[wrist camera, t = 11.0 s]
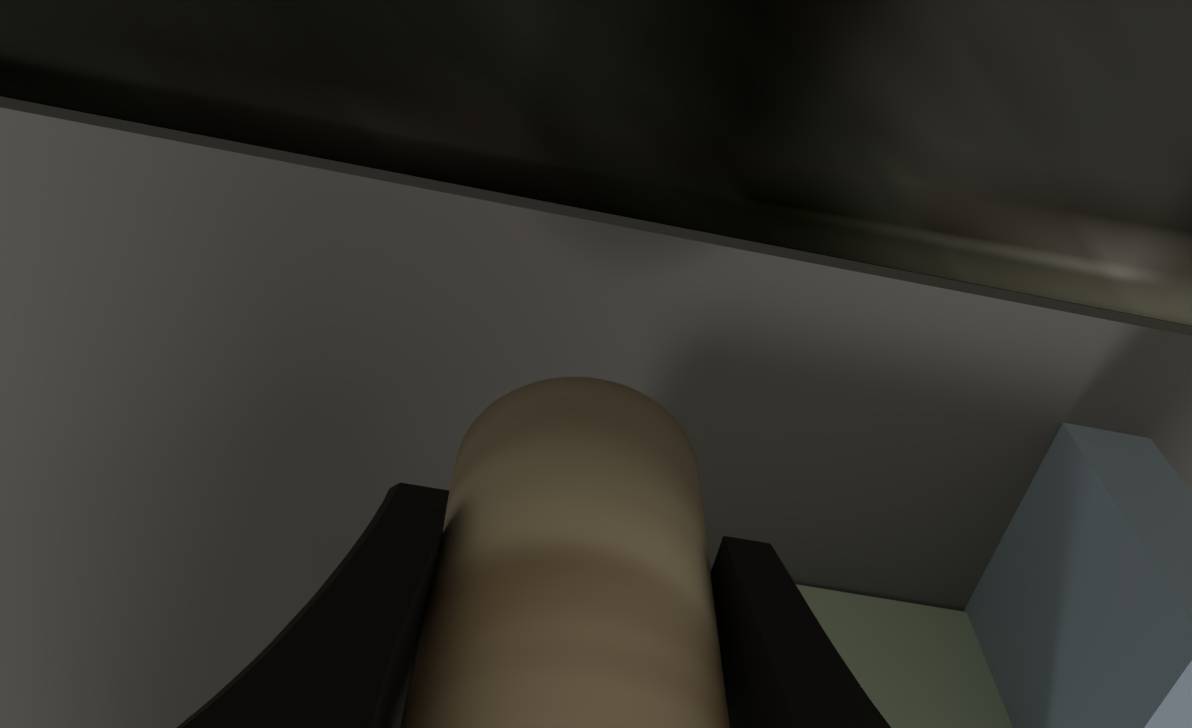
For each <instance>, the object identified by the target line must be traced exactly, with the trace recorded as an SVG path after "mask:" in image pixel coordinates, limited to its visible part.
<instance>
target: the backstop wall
mask: <svg viewBox="0 0 1192 728" xmlns="http://www.w3.org/2000/svg"><path fill="white" fill-rule="evenodd" d="M963 612H967V614H968V617H969V619H970V622H971V624H972V627H973V629H974V632H975V634H976V637H977V639H978V642H979V644H980V647H981V649H982V652H983V654H984V657H985V659H986V662H987V664H988V667H989V669H990V672H991V674H992V677H993V679H994V682H995V684H996V686H997V689H998V691H999V694H1000V696H1001V699H1002V701H1003V704H1004V706H1005V709H1006V711H1007V714H1008V716H1009V719H1010V721H1011V724H1012V726H1013V728H1192V492H1191V491H1190V490H1189V489H1188V487H1187V486H1186V485H1185V483H1184V482H1183V481H1182V479H1181V478H1180V477H1179V475H1178V474H1177V473H1176V471H1175V470H1174V469H1173V467H1172V466H1171V465H1170V463H1169V462H1168V461H1167V459H1166V458H1165V457H1164V456H1163V454H1162V453H1161V452H1160V450H1159V449H1158V448H1157V446H1156V445H1155V444H1154V442H1153V441H1152V440H1151V438H1146V437H1141V436H1135V435H1130V434H1124V433H1118V432H1113V431H1107V430H1102V429H1096V428H1091V427H1085V426H1080V425H1074V424H1069V423H1062V425H1061V427H1060V429H1059V431H1058V433H1057V434H1056V436H1055V438H1054V440H1053V442H1052V444H1051V446H1050V448H1049V450H1048V452H1047V453H1046V455H1045V457H1044V459H1043V461H1042V463H1041V465H1040V467H1039V469H1038V471H1037V472H1036V474H1035V476H1034V478H1033V480H1032V482H1031V484H1030V486H1029V488H1028V490H1027V491H1026V493H1025V495H1024V497H1023V499H1022V501H1021V503H1020V505H1019V507H1018V509H1017V510H1016V512H1015V514H1014V516H1013V518H1012V520H1011V522H1010V524H1009V526H1008V528H1007V529H1006V531H1005V533H1004V535H1003V537H1002V539H1001V541H1000V543H999V545H998V547H997V548H996V550H995V552H994V554H993V556H992V558H991V560H990V562H989V564H988V566H987V567H986V569H985V571H984V573H983V575H982V577H981V579H980V581H979V583H978V585H977V587H976V588H975V590H974V592H973V594H972V596H971V598H970V600H969V602H968V604H967V606H966V607H965V609H964V611H963Z"/></svg>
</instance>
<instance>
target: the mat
mask: <svg viewBox="0 0 1192 728" xmlns="http://www.w3.org/2000/svg"><path fill="white" fill-rule="evenodd" d="M560 377H591V378H597V379H603V380H608V381H612V382H615V383H619V384H623V385H625V386H627V387H630V388H632V389H635V390H637V391H639V392H641V393H643V394H644V395H646V396H648V397H650V398H652V399H653V400H654V401H656V402H657V403H658V404H660V405H661V406H662V407H664V408H665V409H666V410H667V411H668V412H669V413H670V414H671V415H672V416H673V417H674V418H675V419H676V420H677V422H678V423H679V424H680V426H681V427H682V428H683V430H684V431H685V433H686V435H687V437H688V438H689V440H690V442H691V445H692V448H693V450H694V453H695V457H696V462H697V468H698V476H699V484H700V492H701V500H702V508H703V516H704V524H705V532H706V540H707V548H708V556H709V564H710V570H712V567H713V564H714V561H715V558H716V555H717V552H718V549H719V546H720V544H721V541H722V538H723V536H728V537H734V538H740V539H746V540H752V541H758V542H765V543H770V544H771V545H772V547H773V548H774V550H775V551H776V553H777V554H778V556H779V558H780V559H781V561H782V563H783V564H784V566H785V567H786V569H787V571H788V572H789V574H790V576H791V577H792V579H793V581H794V582H795V584H797V585H803V586H809V587H815V588H822V589H828V590H834V591H840V592H846V593H852V594H859V595H865V596H871V597H877V598H883V599H889V600H896V601H902V602H908V603H914V604H920V605H926V606H933V607H939V608H945V609H951V610H957V611H964V609H965V607H966V606H967V604H968V602H969V600H970V598H971V596H972V594H973V592H974V590H975V588H976V587H977V585H978V583H979V581H980V579H981V577H982V575H983V573H984V571H985V569H986V567H987V566H988V564H989V562H990V560H991V558H992V556H993V554H994V552H995V550H996V548H997V547H998V545H999V543H1000V541H1001V539H1002V537H1003V535H1004V533H1005V531H1006V529H1007V528H1008V526H1009V524H1010V522H1011V520H1012V518H1013V516H1014V514H1015V512H1016V510H1017V509H1018V507H1019V505H1020V503H1021V501H1022V499H1023V497H1024V495H1025V493H1026V491H1027V490H1028V488H1029V486H1030V484H1031V482H1032V480H1033V478H1034V476H1035V474H1036V472H1037V471H1038V469H1039V467H1040V465H1041V463H1042V461H1043V459H1044V457H1045V455H1046V453H1047V452H1048V450H1049V448H1050V446H1051V444H1052V442H1053V440H1054V438H1055V436H1056V434H1057V433H1058V431H1059V429H1060V427H1061V425H1062V423H1069V424H1074V425H1080V426H1085V427H1091V428H1096V429H1102V430H1107V431H1113V432H1118V433H1124V434H1130V435H1135V436H1141V437H1146V438H1151V440H1152V441H1153V442H1154V444H1155V445H1156V446H1157V448H1158V449H1159V450H1160V452H1161V453H1162V454H1163V456H1164V457H1165V458H1166V459H1167V461H1168V462H1169V463H1170V465H1171V466H1172V467H1173V469H1174V470H1175V471H1176V473H1177V474H1178V475H1179V477H1180V478H1181V479H1182V481H1183V482H1184V483H1185V485H1186V486H1187V487H1188V489H1189V490H1190V491H1191V492H1192V326H1188V325H1183V324H1177V323H1172V322H1167V321H1162V320H1157V319H1152V318H1146V317H1141V316H1136V315H1131V314H1126V313H1120V312H1115V311H1110V310H1105V309H1100V308H1095V307H1089V306H1084V305H1079V304H1074V303H1069V302H1063V301H1058V300H1053V299H1048V298H1043V297H1038V296H1032V295H1027V294H1022V293H1017V292H1012V291H1006V290H1001V289H996V288H991V287H986V286H981V285H975V284H970V283H965V282H960V281H955V280H949V279H944V278H939V277H934V276H929V275H923V274H918V273H913V272H908V271H903V270H898V269H892V268H887V267H882V266H877V265H872V264H866V263H861V262H856V261H851V260H846V259H841V258H835V257H830V256H825V255H820V254H815V253H809V252H804V251H799V250H794V249H789V248H784V247H778V246H773V245H768V244H763V243H758V242H752V241H747V240H742V239H737V238H732V237H727V236H721V235H716V234H711V233H706V232H701V231H695V230H690V229H685V228H680V227H675V226H670V225H664V224H659V223H654V222H649V221H644V220H638V219H633V218H628V217H623V216H618V215H613V214H607V213H602V212H597V211H592V210H587V209H581V208H576V207H571V206H566V205H561V204H556V203H550V202H545V201H540V200H535V199H530V198H524V197H519V196H514V195H509V194H504V193H499V192H493V191H488V190H483V189H478V188H473V187H467V186H462V185H457V184H452V183H447V182H441V181H436V180H431V179H426V178H421V177H416V176H410V175H405V174H400V173H395V172H390V171H384V170H379V169H374V168H369V167H364V166H359V165H353V164H348V163H343V162H338V161H333V160H327V159H322V158H317V157H312V156H307V155H302V154H296V153H291V152H286V151H281V150H276V149H270V148H265V147H260V146H255V145H250V144H245V143H239V142H234V141H229V140H224V139H219V138H213V137H208V136H203V135H198V134H193V133H188V132H182V131H177V130H172V129H167V128H162V127H156V126H151V125H146V124H141V123H136V122H131V121H125V120H120V119H115V118H110V117H105V116H99V115H94V114H89V113H84V112H79V111H74V110H68V109H63V108H58V107H53V106H48V105H42V104H37V103H32V102H27V101H22V100H17V99H11V98H6V97H1V96H0V728H177V727H178V726H179V725H180V724H181V723H183V722H184V721H185V720H186V719H187V718H189V717H190V716H191V715H192V714H193V713H195V712H196V711H197V710H198V709H199V708H201V707H202V706H203V705H204V704H206V703H207V702H208V701H209V700H210V699H211V698H212V697H214V696H215V695H216V694H217V693H218V692H219V691H220V690H221V689H222V688H224V687H225V686H226V685H227V684H228V683H229V682H230V681H231V680H232V679H233V678H235V677H236V676H237V675H238V674H239V673H240V672H241V671H242V670H243V669H244V668H245V667H246V666H247V665H248V664H249V663H250V662H252V661H253V660H254V659H255V658H256V657H257V656H258V655H259V654H260V653H261V652H262V651H263V650H264V649H265V648H266V647H267V646H268V645H269V644H270V643H271V642H272V641H273V639H274V638H275V637H276V636H277V635H278V634H279V633H280V632H281V631H282V630H283V629H284V628H285V626H286V625H287V624H288V623H289V622H290V621H291V620H292V619H293V618H294V617H295V616H296V615H297V613H298V612H299V611H300V610H301V609H302V608H303V607H304V606H305V605H306V604H307V603H308V602H309V600H310V599H311V598H312V597H313V596H314V595H315V593H316V592H317V591H318V590H319V589H320V587H321V586H322V585H323V584H324V582H325V581H326V580H327V579H328V578H329V576H330V575H331V574H332V573H333V571H334V570H335V569H336V568H337V566H338V565H339V564H340V563H341V561H342V560H343V559H344V558H345V556H346V555H347V554H348V553H349V551H350V550H351V548H352V547H353V546H354V544H355V543H356V541H357V540H358V539H359V537H360V536H361V535H362V533H363V532H364V530H365V529H366V527H367V526H368V524H369V523H370V521H371V520H372V518H373V517H374V515H375V514H376V512H377V510H378V509H379V507H380V505H381V504H382V502H383V500H384V498H385V496H386V494H387V492H388V490H389V488H391V487H393V486H394V485H396V484H398V483H400V482H401V483H407V484H413V485H419V486H425V487H431V488H437V489H443V490H449V492H450V487H451V482H452V477H453V472H454V468H455V463H456V458H457V454H458V451H459V448H460V444H461V442H462V440H463V438H464V436H465V434H466V432H467V430H468V429H469V427H470V426H471V424H472V423H473V422H474V420H475V419H476V418H477V417H478V416H479V415H480V414H481V413H482V412H483V411H484V409H486V408H487V407H488V406H489V405H491V404H492V403H493V402H494V401H496V400H497V399H499V398H500V397H502V396H504V395H505V394H507V393H509V392H511V391H513V390H515V389H517V388H520V387H522V386H524V385H527V384H531V383H534V382H537V381H541V380H546V379H552V378H560Z"/></svg>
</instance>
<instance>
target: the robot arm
mask: <svg viewBox="0 0 1192 728" xmlns="http://www.w3.org/2000/svg"><path fill="white" fill-rule="evenodd" d="M448 497H449V490H443V489H437V488H431V487H425V486H419V485H413V484H407V483H401V482H400V483H398V484H396V485H394V486H393V487H391V488H389V490H388V492H387V494H386V496H385V498H384V500H383V502H382V504H381V505H380V507H379V509H378V510H377V512H376V514H375V515H374V517H373V518H372V520H371V521H370V523H369V524H368V526H367V527H366V529H365V530H364V532H363V533H362V535H361V536H360V537H359V539H358V540H357V541H356V543H355V544H354V546H353V547H352V548H351V550H350V551H349V553H348V554H347V555H346V556H345V558H344V559H343V560H342V561H341V563H340V564H339V565H338V566H337V568H336V569H335V570H334V571H333V573H332V574H331V575H330V576H329V578H328V579H327V580H326V581H325V582H324V584H323V585H322V586H321V587H320V589H319V590H318V591H317V592H316V593H315V595H314V596H313V597H312V598H311V599H310V600H309V602H308V603H307V604H306V605H305V606H304V607H303V608H302V609H301V610H300V611H299V612H298V613H297V615H296V616H295V617H294V618H293V619H292V620H291V621H290V622H289V623H288V624H287V625H286V626H285V628H284V629H283V630H282V631H281V632H280V633H279V634H278V635H277V636H276V637H275V638H274V639H273V641H272V642H271V643H270V644H269V645H268V646H267V647H266V648H265V649H264V650H263V651H262V652H261V653H260V654H259V655H258V656H257V657H256V658H255V659H254V660H253V661H252V662H250V663H249V664H248V665H247V666H246V667H245V668H244V669H243V670H242V671H241V672H240V673H239V674H238V675H237V676H236V677H235V678H233V679H232V680H231V681H230V682H229V683H228V684H227V685H226V686H225V687H224V688H222V689H221V690H220V691H219V692H218V693H217V694H216V695H215V696H214V697H212V698H211V699H210V700H209V701H208V702H207V703H206V704H204V705H203V706H202V707H201V708H199V709H198V710H197V711H196V712H195V713H193V714H192V715H191V716H190V717H189V718H187V719H186V720H185V721H184V722H183V723H181V724H180V725H179V726H178V727H177V728H400V726H401V721H402V716H403V712H404V707H405V702H406V697H407V692H408V688H409V683H410V678H411V673H412V669H413V664H414V659H415V654H416V649H417V645H418V640H419V635H420V630H421V626H422V622H423V618H424V614H425V610H426V606H427V602H428V599H429V595H430V591H431V587H432V582H433V577H434V572H435V567H436V562H437V558H438V553H439V548H440V543H441V538H442V533H443V527H444V521H445V515H446V509H447V503H448ZM711 580H712V588H713V596H714V604H715V612H716V620H717V628H718V636H719V644H720V652H721V660H722V668H723V676H724V684H725V692H726V700H727V708H728V716H729V724H730V728H891V727H890V725H889V724H888V723H887V721H886V720H885V719H884V717H883V716H882V715H881V713H880V712H879V711H878V709H877V708H876V707H875V705H874V704H873V703H872V701H871V700H870V698H869V697H868V695H867V694H866V693H865V691H864V690H863V688H862V687H861V686H860V684H859V683H858V681H857V680H856V678H855V677H854V675H853V674H852V672H851V671H850V669H849V668H848V666H847V665H846V663H845V662H844V660H843V659H842V657H841V656H840V654H839V653H838V651H837V650H836V648H835V647H834V645H833V644H832V642H831V640H830V639H829V637H828V636H827V634H826V633H825V631H824V630H823V628H822V626H821V625H820V623H819V622H818V620H817V618H816V617H815V615H814V613H813V612H812V610H811V609H810V607H809V605H808V604H807V602H806V601H805V599H804V597H803V596H802V594H801V592H800V591H799V589H798V587H797V586H796V584H795V582H794V581H793V579H792V577H791V576H790V574H789V572H788V571H787V569H786V567H785V566H784V564H783V563H782V561H781V559H780V558H779V556H778V554H777V553H776V551H775V550H774V548H773V547H772V545H771V544H770V543H765V542H758V541H752V540H746V539H740V538H734V537H728V536H723V538H722V541H721V544H720V546H719V549H718V552H717V555H716V558H715V561H714V564H713V567H712V570H711Z"/></svg>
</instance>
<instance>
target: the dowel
mask: <svg viewBox="0 0 1192 728" xmlns="http://www.w3.org/2000/svg"><path fill="white" fill-rule="evenodd" d="M400 728H730V724H729V716H728V708H727V700H726V692H725V684H724V676H723V668H722V660H721V652H720V644H719V636H718V628H717V620H716V612H715V604H714V596H713V588H712V580H711V572H710V564H709V556H708V548H707V540H706V532H705V524H704V516H703V508H702V500H701V492H700V484H699V476H698V468H697V462H696V457H695V453H694V450H693V448H692V445H691V442H690V440H689V438H688V437H687V435H686V433H685V431H684V430H683V428H682V427H681V426H680V424H679V423H678V422H677V420H676V419H675V418H674V417H673V416H672V415H671V414H670V413H669V412H668V411H667V410H666V409H665V408H664V407H662V406H661V405H660V404H658V403H657V402H656V401H654V400H653V399H652V398H650V397H648V396H646V395H644V394H643V393H641V392H639V391H637V390H635V389H632V388H630V387H627V386H625V385H623V384H619V383H615V382H612V381H608V380H603V379H597V378H591V377H560V378H552V379H546V380H541V381H537V382H534V383H531V384H527V385H524V386H522V387H520V388H517V389H515V390H513V391H511V392H509V393H507V394H505V395H504V396H502V397H500V398H499V399H497V400H496V401H494V402H493V403H492V404H491V405H489V406H488V407H487V408H486V409H484V411H483V412H482V413H481V414H480V415H479V416H478V417H477V418H476V419H475V420H474V422H473V423H472V424H471V426H470V427H469V429H468V430H467V432H466V434H465V436H464V438H463V440H462V442H461V444H460V448H459V451H458V454H457V458H456V463H455V468H454V472H453V477H452V482H451V487H450V492H449V497H448V503H447V509H446V515H445V521H444V527H443V533H442V538H441V543H440V548H439V553H438V558H437V562H436V567H435V572H434V577H433V582H432V587H431V591H430V595H429V599H428V602H427V606H426V610H425V614H424V618H423V622H422V626H421V630H420V635H419V640H418V645H417V649H416V654H415V659H414V664H413V669H412V673H411V678H410V683H409V688H408V692H407V697H406V702H405V707H404V712H403V716H402V721H401V726H400Z"/></svg>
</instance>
